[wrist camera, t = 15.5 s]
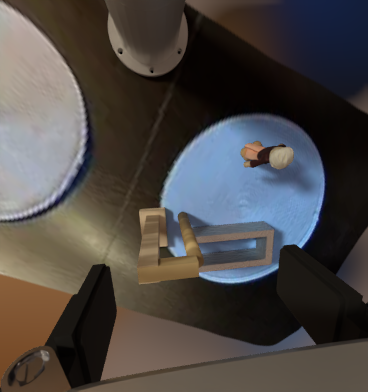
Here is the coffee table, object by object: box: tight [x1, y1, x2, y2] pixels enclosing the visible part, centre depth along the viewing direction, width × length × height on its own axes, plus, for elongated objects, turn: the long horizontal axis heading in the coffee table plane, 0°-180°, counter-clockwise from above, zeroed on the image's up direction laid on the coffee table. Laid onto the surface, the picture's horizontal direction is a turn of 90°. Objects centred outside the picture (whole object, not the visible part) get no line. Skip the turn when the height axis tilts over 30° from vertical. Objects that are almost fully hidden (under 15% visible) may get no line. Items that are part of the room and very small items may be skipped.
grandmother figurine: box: [241, 141, 294, 169], centre depth 34 cm, size 8×4×13 cm, turn 128°
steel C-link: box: [192, 221, 274, 272], centre depth 43 cm, size 16×8×4 cm, turn 93°
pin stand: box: [137, 207, 204, 284], centre depth 33 cm, size 8×10×19 cm
